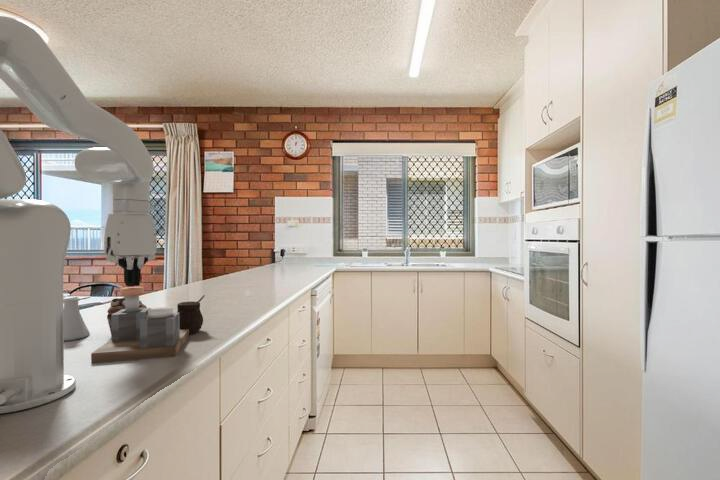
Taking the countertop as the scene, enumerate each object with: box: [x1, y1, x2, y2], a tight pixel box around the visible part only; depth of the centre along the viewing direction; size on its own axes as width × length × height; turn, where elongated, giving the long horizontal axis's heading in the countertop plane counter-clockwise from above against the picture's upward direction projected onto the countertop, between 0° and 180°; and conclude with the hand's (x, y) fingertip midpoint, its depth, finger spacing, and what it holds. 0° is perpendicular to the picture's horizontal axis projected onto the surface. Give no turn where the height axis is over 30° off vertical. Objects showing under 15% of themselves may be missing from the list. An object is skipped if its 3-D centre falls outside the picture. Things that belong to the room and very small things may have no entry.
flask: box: [63, 297, 91, 342], centre depth 91 cm, size 7×7×10 cm
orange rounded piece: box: [119, 286, 145, 313], centre depth 85 cm, size 5×5×6 cm
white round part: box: [148, 306, 174, 318], centre depth 80 cm, size 5×5×6 cm
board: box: [90, 307, 190, 364], centre depth 82 cm, size 16×16×8 cm
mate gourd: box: [176, 295, 206, 335], centre depth 96 cm, size 7×8×10 cm
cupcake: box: [106, 296, 148, 337], centre depth 95 cm, size 10×10×10 cm
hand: (132, 285), depth 85 cm, fingers closed
